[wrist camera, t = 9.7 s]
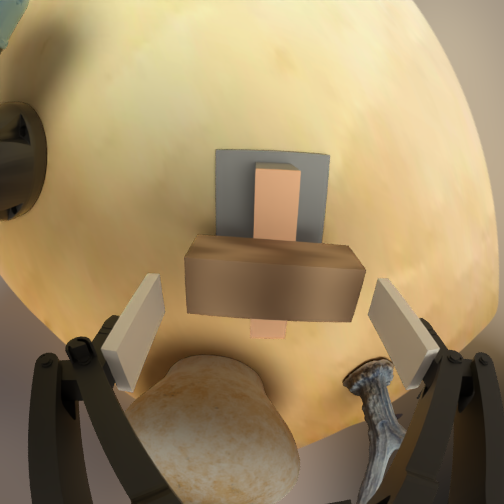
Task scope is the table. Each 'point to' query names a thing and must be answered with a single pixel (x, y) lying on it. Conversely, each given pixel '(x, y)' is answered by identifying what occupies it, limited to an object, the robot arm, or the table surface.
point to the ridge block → (271, 203)
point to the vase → (216, 434)
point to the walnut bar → (272, 279)
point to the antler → (376, 421)
